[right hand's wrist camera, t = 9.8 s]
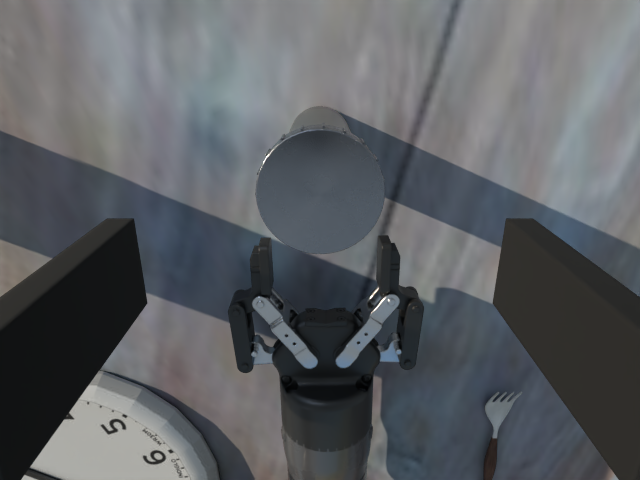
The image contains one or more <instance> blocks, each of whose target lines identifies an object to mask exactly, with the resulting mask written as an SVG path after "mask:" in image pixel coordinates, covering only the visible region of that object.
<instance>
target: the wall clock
mask: <svg viewBox="0 0 640 480" xmlns="http://www.w3.org/2000/svg"><path fill="white" fill-rule="evenodd" d="M21 480H220V478H219V472H218V467H217V462H216V460H215V458H214V456H213V454H212V452H211V451H210V449H209V447H208V445H207V443H206V441H205V439H204V438H203V436H202V434H201V433H200V432H199V431H198V430H197V429H196V428H195V427H194V426H193V425H192V424H191V423H190V422H189V421H188V419H187V418H186V417H185V416H184V415H183V414H182V413H181V412H180V411H179V410H178V409H177V408H175V407H174V406H172V405H171V404H169V403H168V402H166V401H165V400H163V399H162V398H160V397H159V396H157V395H155V394H154V393H152V392H151V391H149V390H148V389H146V388H145V387H143V386H140V385H138V384H135V383H133V382H130V381H127V380H125V379H122V378H120V377H117V376H114V375H112V374H109V373H107V372H104V371H99V372H98V373H97V374H96V376H95V377H94V379H93V380H92V381H91V383H90V384H89V386H88V387H87V388H86V390H85V391H84V393H83V394H82V395H81V397H80V398H79V399H78V401H77V402H76V404H75V405H74V406H73V408H72V409H71V411H70V412H69V413H68V415H67V416H66V418H65V419H64V420H63V422H62V423H61V425H60V426H59V427H58V429H57V430H56V432H55V433H54V434H53V436H52V437H51V439H50V440H49V441H48V443H47V444H46V446H45V447H44V448H43V450H42V451H41V453H40V454H39V455H38V457H37V458H36V460H35V461H34V462H33V464H32V465H31V467H30V468H29V469H28V471H27V472H26V474H25V475H24V476H23V478H22V479H21Z"/></svg>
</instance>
